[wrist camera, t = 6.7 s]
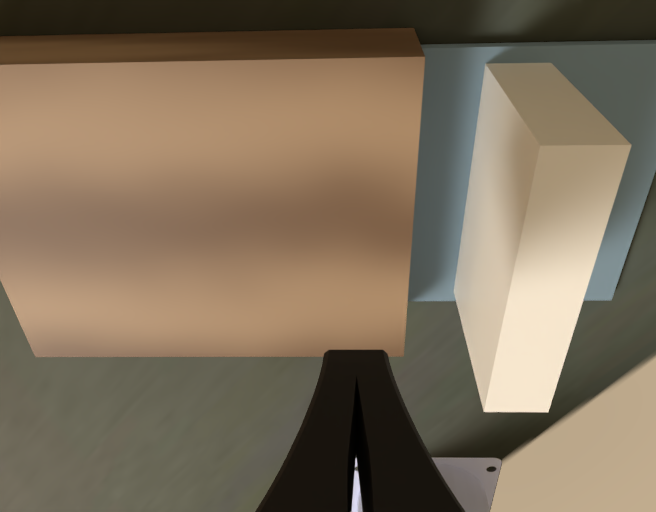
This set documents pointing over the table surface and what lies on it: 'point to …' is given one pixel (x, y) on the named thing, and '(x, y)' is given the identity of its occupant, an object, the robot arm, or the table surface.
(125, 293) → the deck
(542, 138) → the cream rectangular block
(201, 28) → the table surface
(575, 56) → the mat
